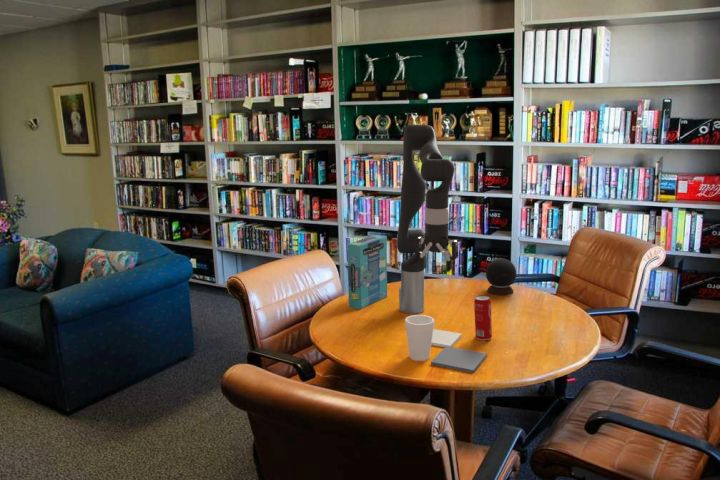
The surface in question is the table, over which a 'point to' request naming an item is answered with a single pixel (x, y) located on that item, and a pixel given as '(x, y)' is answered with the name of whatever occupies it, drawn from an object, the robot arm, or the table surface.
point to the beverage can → (483, 317)
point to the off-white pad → (444, 338)
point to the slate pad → (459, 359)
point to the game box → (367, 271)
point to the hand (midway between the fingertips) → (436, 269)
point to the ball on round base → (500, 276)
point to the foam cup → (419, 336)
